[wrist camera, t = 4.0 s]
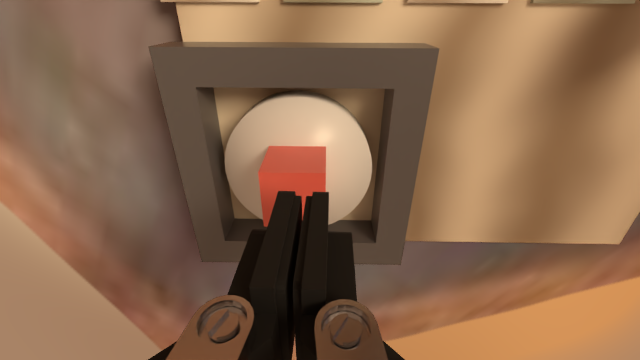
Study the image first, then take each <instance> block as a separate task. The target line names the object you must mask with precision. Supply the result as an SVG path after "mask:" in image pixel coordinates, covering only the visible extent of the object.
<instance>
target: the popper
mask: <svg viewBox="0 0 640 360" xmlns="http://www.w3.org/2000/svg"><path fill="white" fill-rule="evenodd" d="M225 171H226V175H227V179H228V182H229V184H230V187H231V189H232V191H233V192H234V194H235V196H236V197H237V198H238V200H239V201H240V202H241V203H242V204H243V205H244V206H245V208H247V209H248V210H249V211H250V212H251V213H253V214H254V215H256V216H257V217H259V218H260V219H262V220H263V223H264V227H267V226H268V223H269V220H270V217H271V213H272V210H273V207H274V203H275V200H276V197H277V193H278V191H295V193H296V196H301V197H302V220H303V214H304V207H305V201H306V196H312V194H313V192H329V220H328V225H329V224H332V223H334V222H336V221H338V220H340V219H342V218H343V217H345V216H346V215H348V214H349V213H350V212H351V211H352V210H354V209H355V207H356V206H357V205H358V204H359V203H360V202H361V200H362V199H363V197H364V195H365V193H366V191H367V189H368V187H369V184H370V181H371V175H372V159H371V153H370V149H369V146H368V143H367V139H366V136H365V133H364V131H363V129H362V127H361V125H360V123H359V122H358V120H357V119H356V118H355V116H354V115H353V114H352V113H351V112H350V111H349V110H348V109H347V108H346V107H345V106H343V105H342V104H340V103H339V102H338V101H336V100H334V99H332V98H330V97H328V96H326V95H323V94H320V93H317V92H312V91H305V90H291V91H284V92H279V93H276V94H273V95H270V96H268V97H266V98H264V99H262V100H261V101H259V102H258V103H256V104H255V105H254V106H253V107H252V108H251V109H249V110H248V111H247V113H246V114H245V115H244V116H243V118H242V119H241V120H240V122H239V123H238V124H237V126H236V127H235V128H234V130H233V132H232V134H231V135H230V138H229V140H228V143H227V146H226V151H225Z"/></svg>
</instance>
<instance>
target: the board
mask: <svg viewBox="0 0 640 360" xmlns="http://www.w3.org/2000/svg"><path fill="white" fill-rule="evenodd" d="M161 2H175V3H176V9H177V14H178V19H179V24H180V29H181V34H182V39H183V42H326V43H426V44H429V45H431V46H434V47H437V48H440V49H439V54H438V60H437V65H436V71H435V76H434V82H433V88H432V93H431V99H430V104H429V110H428V115H427V121H426V127H425V132H424V138H423V143H422V149H421V155H420V160H419V166H418V171H417V177H416V182H415V188H414V194H413V199H412V205H411V210H410V216H409V221H408V227H407V233H406V238H405V241H446V242H512V243H578V244H620V242H621V241H622V239H623V238H624V236H625V234H626V233H627V231H628V229H629V228H630V226H631V225H632V223H633V221H634V220H635V218H636V217H637V215H638V213H639V212H640V0H161ZM213 89H214V95H215V101H216V107H217V114H218V120H219V126H220V132H221V138H222V144H223V150H224V157H225V151H226V146H227V143H228V140H229V138H230V135H231V134H232V132H233V130H234V128H235V127H236V126H237V124H238V123H239V122H240V120H241V119H242V118H243V116H244V115H245V114H246V113H247V111H248V110H249V109H251V108H252V107H253V106H254V105H255V104H256V103H258V102H259V101H261V100H262V99H264V98H266V97H268V96H270V95H273V94H276V93H279V92H284V91H291V90H305V91H312V92H317V93H320V94H323V95H326V96H328V97H330V98H332V99H334V100H336V101H338V102H339V103H340V104H342V105H343V106H345V107H346V108H347V109H348V110H349V111H350V112H351V113H352V114H353V115H354V116H355V118H356V119H357V120H358V122H359V123H360V125H361V127H362V129H363V131H364V133H365V136H366V139H367V143H368V146H369V149H370V153H371V159H372V175H371V181H370V184H369V187H368V189H367V191H366V193H365V195H364V197H363V199H362V200H361V202H360V203H359V204H358V205H357V206H356V207H355V209H354V210H352V211H351V212H350V213H349V214H348V215H346V216H345V217H343V218H342V219H340V220H371V217H372V207H373V198H374V188H375V179H376V169H377V160H378V150H379V141H380V131H381V122H382V112H383V103H384V93H385V89H354V88H229V87H213ZM229 187H230V184H229ZM230 193H231V199H232V206H233V212H234V218H237V219H260V218H259V217H257V216H256V215H254V214H253V213H251V212H250V211H249V210H248V209H247V208H245V206H244V205H243V204H242V203H241V202H240V201H239V200H238V198H237V197H236V196H235V194H234V192H233V191H232V189H231V187H230Z"/></svg>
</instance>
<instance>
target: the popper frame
mask: <svg viewBox="0 0 640 360" xmlns="http://www.w3.org/2000/svg"><path fill="white" fill-rule="evenodd" d="M439 49H440V48H437V47H434V46H431V45H429V44H426V43H326V42H168V43H163V44H158V45H154V46H149V51H150V55H151V59H152V63H153V67H154V71H155V75H156V79H157V83H158V87H159V91H160V95H161V99H162V103H163V107H164V111H165V115H166V119H167V123H168V127H169V131H170V135H171V139H172V143H173V147H174V151H175V155H176V159H177V163H178V167H179V171H180V176H181V180H182V184H183V188H184V192H185V196H186V200H187V204H188V208H189V212H190V216H191V220H192V224H193V228H194V232H195V236H196V240H197V244H198V248H199V252H200V256H201V260H202V262H240V260H241V257H242V254H243V251H244V249H245V246H246V243H247V241H248V238H249V235H250V233H251V231H252V230H253V229H264V230H267V227H264V223H263V220H262V219H237V218H234V212H233V206H232V199H231V193H230V187H229V182H228V179H227V175H226V171H225V157H224V150H223V144H222V138H221V132H220V126H219V120H218V114H217V107H216V101H215V95H214V89H213V87H229V88H354V89H385V93H384V103H383V112H382V122H381V131H380V141H379V150H378V160H377V169H376V179H375V188H374V198H373V207H372V217H371V220H338V221H336V222H334V223H332V224H329V225H328V231H330V232H352V241H353V254H354V264H384V265H401V260H402V255H403V249H404V244H405V238H406V233H407V227H408V221H409V216H410V210H411V205H412V199H413V194H414V188H415V182H416V177H417V171H418V166H419V160H420V155H421V149H422V143H423V138H424V132H425V127H426V121H427V115H428V110H429V104H430V99H431V93H432V88H433V82H434V76H435V71H436V65H437V60H438V54H439Z"/></svg>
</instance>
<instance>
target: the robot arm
mask: <svg viewBox="0 0 640 360" xmlns="http://www.w3.org/2000/svg"><path fill="white" fill-rule="evenodd" d="M328 220H329V192H313V194H312V196H306V201H305V207H304V214H303V220H302V197H301V196H296V193H295V191H278V193H277V197H276V200H275V203H274V207H273V210H272V213H271V217H270V220H269V223H268V226H267V230H264V229H253V230H252V231H251V233H250V235H249V238H248V241H247V243H246V246H245V249H244V251H243V254H242V257H241V260H240V262H239V265H238V268H237V270H236V273H235V276H234V279H233V281H232V284H231V287H230V289H229V292H228V295H224V296H220V297H216V298H214V299H212V300H210V301H208V302H206V303H205V304H204V305H203V306H201V307H200V308H199V309H198V310H197V312H196V313H195V314H194V315H193V317H192V319H191V320H190V322H189V323H188V325H187V327H186V328H185V330H184V331H183V333H182V334H181V336H180V338H179V339H178V341H177V342H175V343H174V344H172V345H170V346H169V347H167V348H166V349H164V350H163V351H161V352H159V353H158V354H156V355H155V356H153V357H152V358H150V359H148V360H292V353H293V345H294V337H295V341H296V357H297V360H404V359H403V358H402V357H401V356H400V355H399V354H398V353H396V352H395V351H394V350H393V349H392V348H391V347H390V346H388V345H387V344H386V343H385V342H384V341H383V340H382V337H381V334H380V331H379V327H378V324H377V321H376V319H375V317H374V315H373V314H372V313H371V311H370V310H369V309H368V308H367V307H365V306H364V305H362V304H361V303H359V302H357V296H356V282H355V268H354V254H353V241H352V232H330V231H328Z"/></svg>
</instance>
